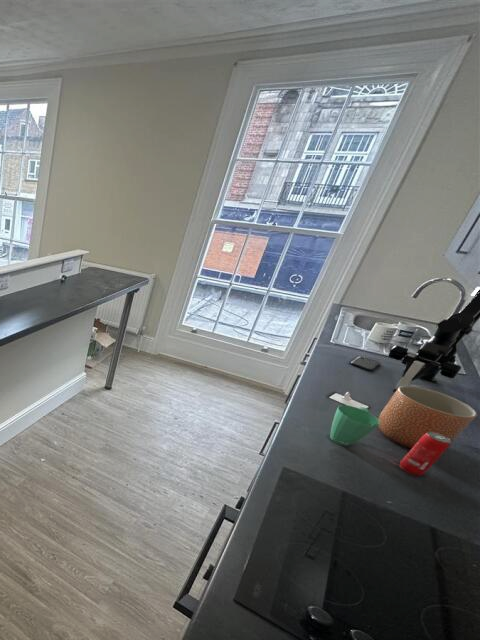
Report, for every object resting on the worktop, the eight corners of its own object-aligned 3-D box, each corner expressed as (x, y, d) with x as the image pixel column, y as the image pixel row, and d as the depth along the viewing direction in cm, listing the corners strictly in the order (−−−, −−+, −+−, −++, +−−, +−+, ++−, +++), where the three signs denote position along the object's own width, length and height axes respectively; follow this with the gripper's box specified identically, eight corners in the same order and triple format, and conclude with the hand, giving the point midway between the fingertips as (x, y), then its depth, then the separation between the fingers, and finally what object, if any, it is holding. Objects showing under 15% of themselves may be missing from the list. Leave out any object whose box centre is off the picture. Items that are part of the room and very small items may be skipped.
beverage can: (392, 463, 116) (420, 431, 109) (408, 463, 116) (436, 431, 110) (411, 476, 111) (441, 443, 105) (427, 476, 112) (457, 443, 106)
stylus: (394, 389, 155) (416, 360, 148) (402, 392, 153) (425, 363, 146) (392, 391, 154) (414, 362, 147) (400, 394, 152) (422, 364, 145)
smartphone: (350, 362, 174) (360, 355, 182) (349, 363, 174) (359, 356, 182) (371, 369, 169) (381, 362, 177) (370, 371, 169) (380, 363, 177)
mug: (355, 455, 118) (375, 428, 112) (316, 437, 124) (334, 411, 119) (367, 438, 126) (387, 413, 120) (330, 422, 132) (347, 397, 127)
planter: (438, 441, 127) (473, 402, 120) (442, 466, 116) (481, 424, 109) (370, 417, 137) (398, 379, 129) (367, 438, 126) (398, 398, 118)
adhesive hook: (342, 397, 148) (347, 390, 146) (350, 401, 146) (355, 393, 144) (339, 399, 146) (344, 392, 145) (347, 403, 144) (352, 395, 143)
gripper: (409, 325, 150) (380, 356, 150) (479, 346, 136) (447, 380, 137) (402, 341, 157) (375, 370, 158) (469, 362, 144) (438, 394, 145)
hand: (407, 378), depth 149 cm, fingers closed on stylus, 2 cm apart
